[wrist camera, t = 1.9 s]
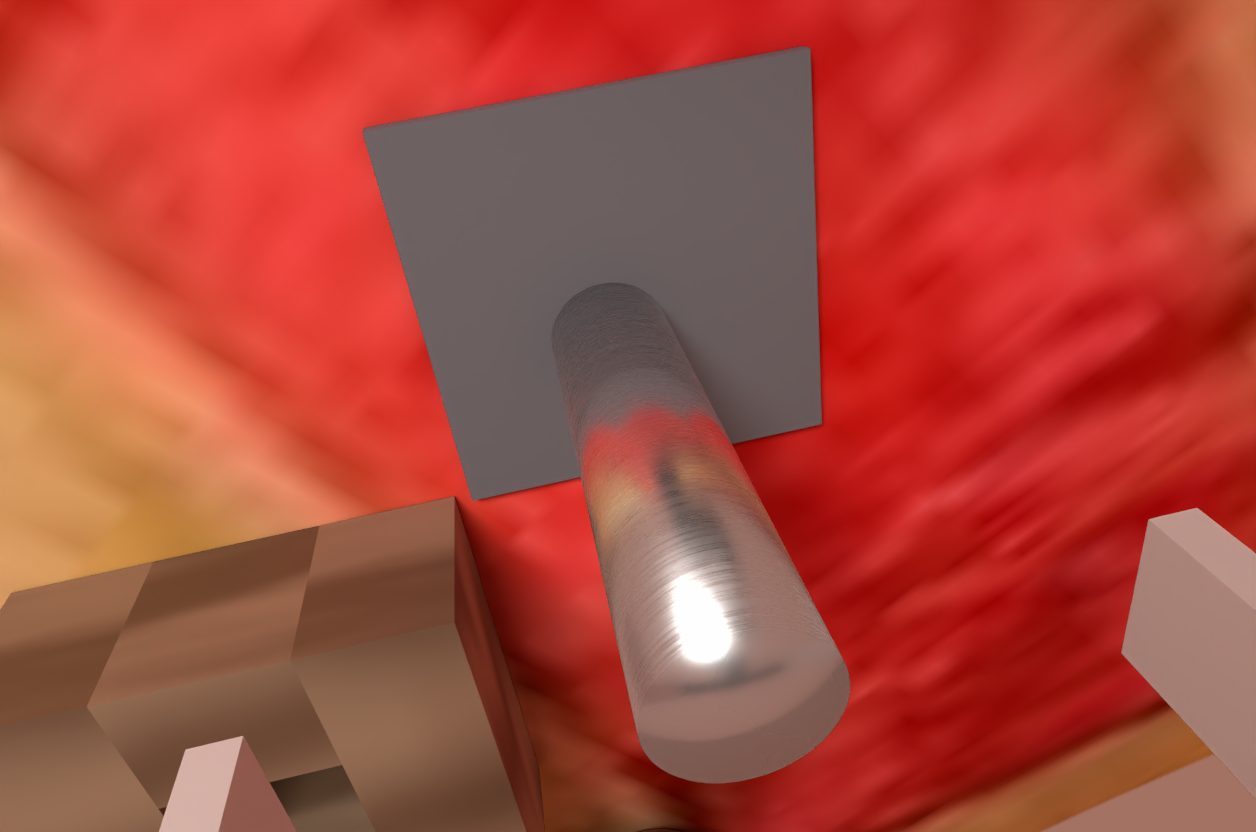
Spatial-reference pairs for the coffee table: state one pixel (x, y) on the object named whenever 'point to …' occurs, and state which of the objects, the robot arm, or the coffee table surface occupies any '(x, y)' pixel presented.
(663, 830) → the vase
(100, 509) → the coffee table surface
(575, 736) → the coffee table surface
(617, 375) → the peg
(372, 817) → the block
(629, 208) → the mat
